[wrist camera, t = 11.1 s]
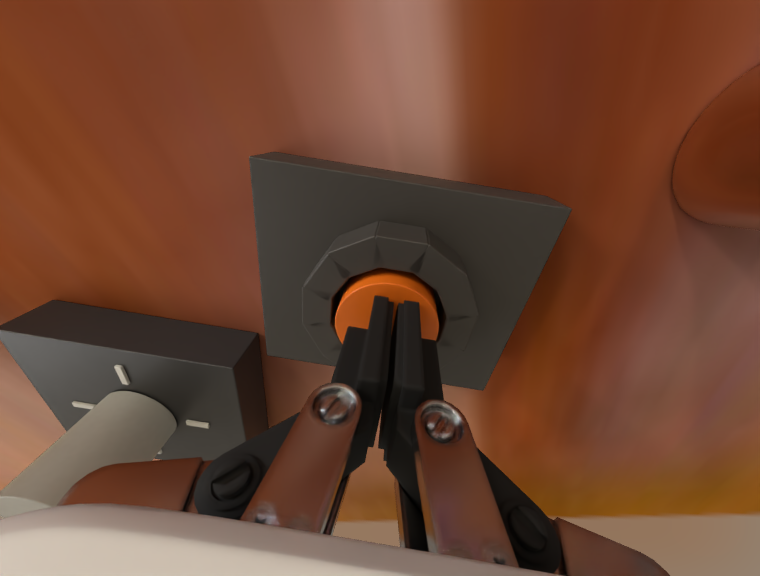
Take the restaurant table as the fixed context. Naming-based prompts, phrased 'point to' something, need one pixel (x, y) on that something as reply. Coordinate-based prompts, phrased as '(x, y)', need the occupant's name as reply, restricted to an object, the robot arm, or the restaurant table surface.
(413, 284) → the power button
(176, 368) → the panel
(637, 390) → the restaurant table surface
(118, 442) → the timer knob
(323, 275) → the power block
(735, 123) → the beer glass
